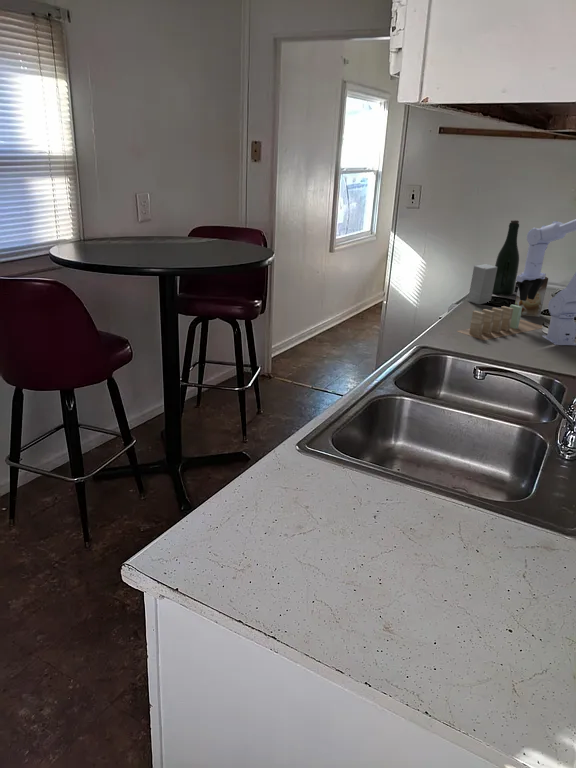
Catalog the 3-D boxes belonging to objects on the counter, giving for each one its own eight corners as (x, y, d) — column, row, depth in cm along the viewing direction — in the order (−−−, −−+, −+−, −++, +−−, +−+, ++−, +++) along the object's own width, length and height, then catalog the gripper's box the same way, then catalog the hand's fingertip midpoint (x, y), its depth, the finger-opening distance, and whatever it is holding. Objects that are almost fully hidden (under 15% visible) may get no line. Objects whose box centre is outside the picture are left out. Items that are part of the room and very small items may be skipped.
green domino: (515, 328, 219) (519, 307, 216) (506, 326, 222) (510, 304, 219) (518, 328, 220) (522, 307, 217) (509, 325, 223) (513, 304, 220)
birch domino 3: (497, 332, 213) (501, 310, 210) (488, 329, 216) (492, 307, 213) (500, 331, 214) (504, 310, 211) (491, 329, 217) (494, 307, 214)
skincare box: (478, 299, 264) (484, 263, 258) (492, 303, 259) (498, 266, 253) (466, 301, 259) (472, 264, 254) (480, 305, 254) (486, 267, 248)
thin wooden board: (483, 341, 203) (483, 340, 203) (455, 332, 213) (455, 331, 212) (547, 328, 223) (547, 327, 223) (519, 320, 233) (519, 319, 232)
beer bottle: (518, 295, 275) (532, 221, 263) (497, 295, 272) (511, 221, 260) (505, 290, 284) (518, 219, 272) (485, 290, 282) (498, 218, 270)
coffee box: (516, 316, 238) (524, 276, 232) (512, 312, 244) (520, 273, 238) (540, 318, 238) (548, 278, 232) (535, 314, 244) (543, 275, 238)
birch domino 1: (478, 336, 208) (482, 313, 205) (469, 333, 211) (472, 311, 208) (481, 335, 208) (485, 313, 205) (472, 332, 211) (475, 310, 209)
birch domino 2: (488, 334, 210) (491, 312, 207) (478, 331, 213) (482, 309, 210) (490, 333, 211) (494, 311, 208) (481, 330, 214) (485, 308, 211)
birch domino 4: (506, 330, 216) (510, 309, 213) (497, 327, 219) (501, 306, 216) (509, 330, 217) (513, 308, 214) (500, 327, 220) (504, 305, 217)
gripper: (536, 259, 222) (529, 295, 227) (512, 261, 214) (505, 299, 219) (553, 262, 217) (545, 299, 222) (529, 265, 209) (521, 303, 214)
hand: (526, 299), depth 220 cm, fingers open, 4 cm apart
